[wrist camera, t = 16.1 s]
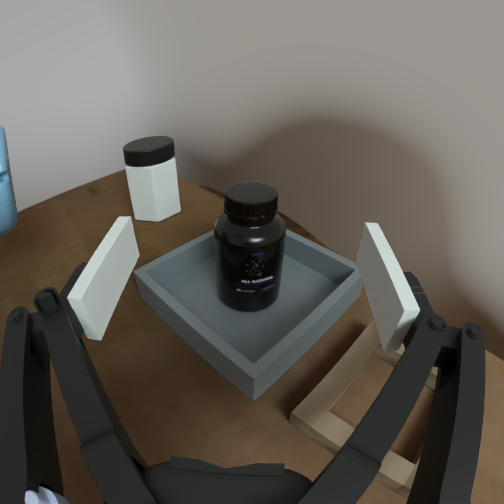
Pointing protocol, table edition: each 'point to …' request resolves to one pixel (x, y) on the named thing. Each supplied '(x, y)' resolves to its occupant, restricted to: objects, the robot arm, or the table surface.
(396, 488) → the socket collar
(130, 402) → the table surface
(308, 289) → the bin
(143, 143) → the jar
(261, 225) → the supplement bottle
